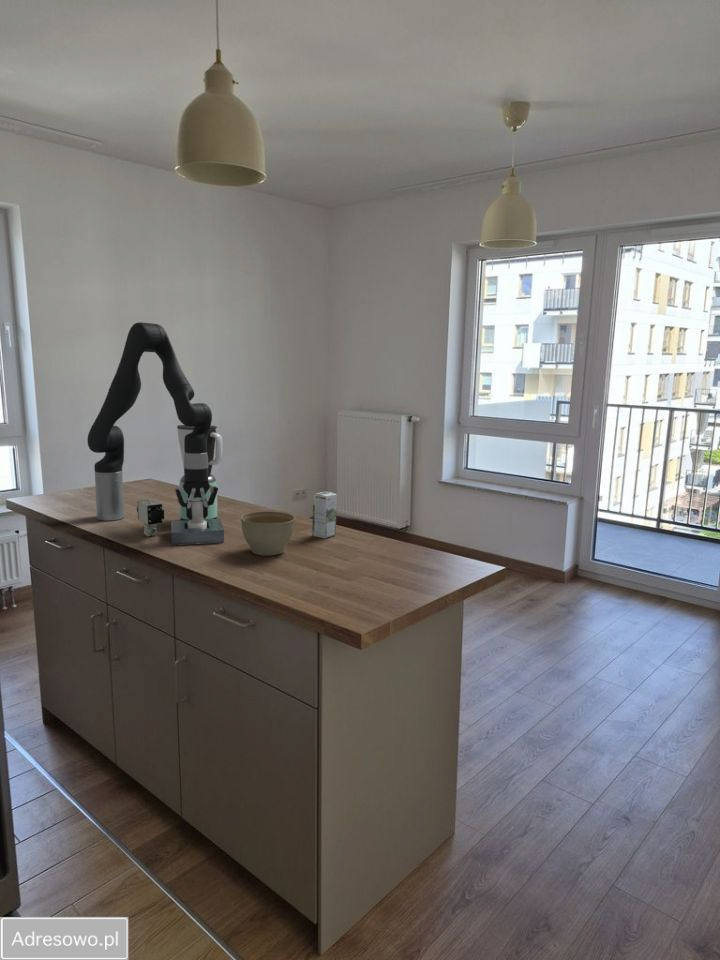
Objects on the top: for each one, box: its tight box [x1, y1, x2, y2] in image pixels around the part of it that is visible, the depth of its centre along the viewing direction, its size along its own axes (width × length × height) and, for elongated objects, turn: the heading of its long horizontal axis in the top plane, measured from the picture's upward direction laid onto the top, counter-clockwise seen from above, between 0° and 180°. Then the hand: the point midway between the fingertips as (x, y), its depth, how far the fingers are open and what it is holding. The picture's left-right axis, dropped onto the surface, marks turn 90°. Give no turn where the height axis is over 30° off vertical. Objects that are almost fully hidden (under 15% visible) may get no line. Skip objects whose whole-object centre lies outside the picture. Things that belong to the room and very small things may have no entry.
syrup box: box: [311, 491, 338, 539], centre depth 213 cm, size 6×6×14 cm
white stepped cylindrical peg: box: [188, 500, 207, 529], centre depth 208 cm, size 6×6×11 cm
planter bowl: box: [240, 510, 296, 557], centre depth 194 cm, size 16×16×11 cm
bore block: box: [170, 518, 225, 546], centre depth 208 cm, size 16×16×4 cm
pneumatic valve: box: [136, 498, 165, 538], centre depth 209 cm, size 6×12×12 cm, turn 40°
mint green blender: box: [176, 424, 224, 520], centre depth 226 cm, size 19×13×35 cm
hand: (197, 518), depth 208 cm, fingers closed on white stepped cylindrical peg, 4 cm apart
